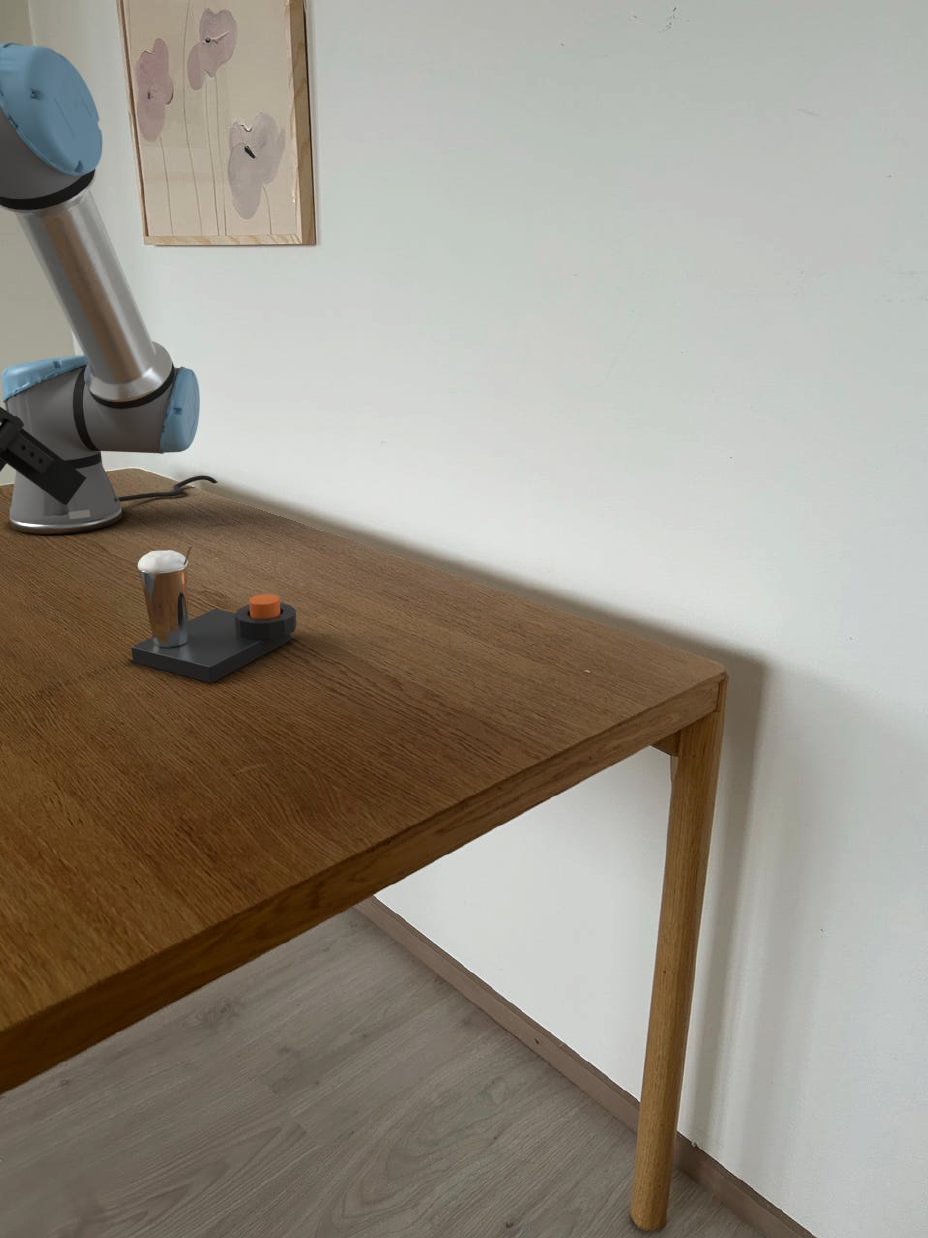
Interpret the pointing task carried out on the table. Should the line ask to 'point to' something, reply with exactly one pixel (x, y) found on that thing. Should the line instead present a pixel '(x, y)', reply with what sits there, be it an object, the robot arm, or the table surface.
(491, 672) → the table surface
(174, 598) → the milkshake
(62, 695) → the table surface
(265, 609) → the button
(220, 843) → the table surface
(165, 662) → the scale
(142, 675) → the table surface
